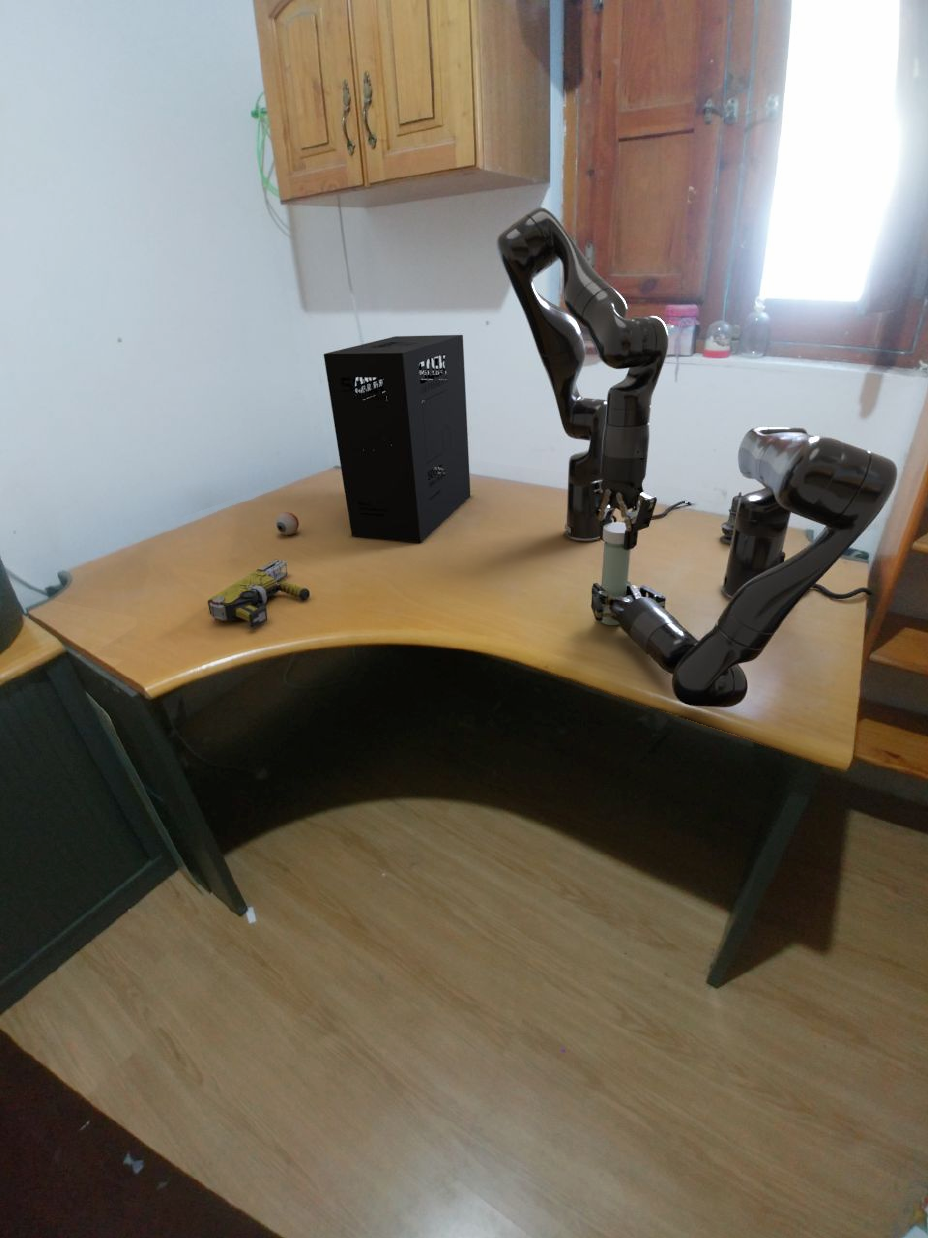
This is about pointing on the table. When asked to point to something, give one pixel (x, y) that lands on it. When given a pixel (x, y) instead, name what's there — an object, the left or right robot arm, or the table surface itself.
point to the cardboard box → (401, 434)
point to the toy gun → (253, 595)
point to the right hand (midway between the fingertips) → (607, 585)
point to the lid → (614, 532)
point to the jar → (615, 573)
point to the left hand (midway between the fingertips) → (617, 543)
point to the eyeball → (287, 523)
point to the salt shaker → (730, 521)
